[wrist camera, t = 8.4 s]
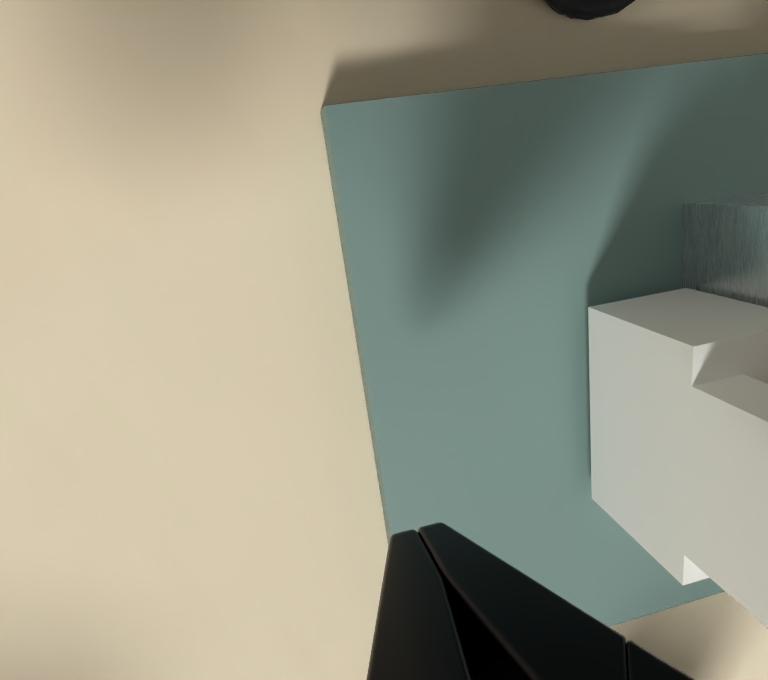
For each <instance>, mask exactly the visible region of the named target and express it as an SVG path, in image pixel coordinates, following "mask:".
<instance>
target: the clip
mask: <svg viewBox="0 0 768 680" xmlns="http://www.w3.org/2000/svg"><path fill="white" fill-rule="evenodd" d="M588 324H589V379H590V435H591V490H592V499H593V500H594V501H595V502H596V503H597V504H598V505H599V506H600V507H601V508H602V509H603V510H604V511H605V512H606V513H607V514H609V515H610V516H611V517H612V518H613V519H614V520H615V521H616V522H617V523H618V524H619V525H620V526H621V527H622V528H623V529H624V530H625V531H626V532H627V533H628V534H629V535H630V536H631V537H633V538H634V539H635V540H636V541H637V542H638V543H639V544H640V545H641V546H642V547H643V548H644V549H645V550H646V551H647V552H648V553H649V554H650V555H651V556H652V557H653V558H654V559H656V560H657V561H658V562H659V563H660V564H661V565H662V566H663V567H664V568H665V569H666V570H667V571H668V572H669V573H670V574H671V575H672V576H673V577H674V578H675V579H676V580H677V581H678V582H680V583H681V584H682V585H686V584H690V583H693V582H697V581H700V580H703V579H707V578H711V579H712V580H713V581H714V582H715V583H716V584H717V585H719V586H720V587H721V588H722V589H723V590H724V591H725V592H727V593H728V594H729V595H730V596H731V597H732V598H733V599H734V600H736V601H737V602H738V603H739V604H740V605H741V606H742V607H744V608H745V609H746V610H747V611H748V612H749V613H750V614H751V615H753V616H754V617H755V618H756V619H757V620H758V621H759V622H761V623H762V624H763V625H764V626H765V627H766V628H767V629H768V307H763V306H759V305H755V304H751V303H747V302H743V301H739V300H735V299H730V298H726V297H722V296H718V295H714V294H710V293H706V292H702V291H698V290H693V289H689V288H683V289H678V290H673V291H668V292H662V293H657V294H652V295H647V296H642V297H637V298H632V299H627V300H622V301H617V302H611V303H606V304H601V305H596V306H591V307H588Z"/></svg>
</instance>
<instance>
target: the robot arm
mask: <svg viewBox="0 0 768 680" xmlns="http://www.w3.org/2000/svg"><path fill="white" fill-rule="evenodd" d="M367 680H695V679H693V678H691V677H690V676H688V675H686V674H685V673H683V672H681V671H680V670H678V669H676V668H675V667H673V666H671V665H670V664H668V663H666V662H665V661H663V660H661V659H660V658H658V657H656V656H655V655H653V654H652V653H650V652H648V651H647V650H645V649H644V648H642V647H640V646H639V645H637V644H636V643H634V642H632V641H627V643H626V639H625V637H624V636H622V635H621V634H619V633H618V632H616V631H615V630H613V629H611V628H610V627H608V626H607V625H605V624H603V623H602V622H600V621H599V620H597V619H595V618H594V617H592V616H591V615H589V614H588V613H586V612H584V611H583V610H581V609H580V608H578V607H576V606H575V605H573V604H572V603H570V602H568V601H567V600H565V599H564V598H562V597H561V596H559V595H557V594H556V593H554V592H553V591H551V590H549V589H548V588H546V587H545V586H543V585H541V584H540V583H538V582H537V581H535V580H533V579H532V578H530V577H529V576H527V575H526V574H524V573H522V572H521V571H519V570H518V569H516V568H514V567H513V566H511V565H510V564H508V563H506V562H505V561H503V560H502V559H500V558H499V557H497V556H495V555H494V554H492V553H491V552H489V551H487V550H486V549H484V548H483V547H481V546H479V545H478V544H476V543H475V542H473V541H472V540H470V539H468V538H467V537H465V536H464V535H462V534H460V533H459V532H457V531H456V530H454V529H452V528H451V527H449V526H448V525H446V524H444V523H441V522H438V523H434V524H430V525H426V526H423V527H420V528H419V529H418V531H416V530H413V529H411V530H407V531H403V532H399V533H395V534H393V535H391V537H390V540H389V546H388V553H387V559H386V565H385V571H384V577H383V583H382V589H381V595H380V601H379V607H378V613H377V620H376V626H375V632H374V638H373V644H372V650H371V656H370V662H369V668H368V674H367Z"/></svg>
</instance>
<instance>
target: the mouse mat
mask: <svg viewBox="0 0 768 680" xmlns="http://www.w3.org/2000/svg"><path fill="white" fill-rule="evenodd" d="M547 1H548V2H549V4H550V5H551V7H552V8H553V9H554V10H555V11H556V12H558V13H559V14H565V15H567V16H568V17H569V18H577V19H584V20H590V19H594V18H598V17H603V16H607V15H611V14H614V13H617V12H619V11H621V10H622V9H624V8H625V7H626V6H628V5H629V4H631V3H632V2H634V1H635V0H547Z"/></svg>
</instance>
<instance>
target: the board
mask: <svg viewBox="0 0 768 680" xmlns="http://www.w3.org/2000/svg"><path fill="white" fill-rule="evenodd" d="M321 118H322V124H323V131H324V137H325V143H326V150H327V156H328V162H329V169H330V175H331V182H332V188H333V194H334V201H335V207H336V213H337V220H338V226H339V232H340V239H341V245H342V252H343V258H344V264H345V271H346V277H347V283H348V290H349V296H350V303H351V309H352V315H353V322H354V328H355V334H356V341H357V347H358V353H359V360H360V366H361V373H362V379H363V385H364V392H365V398H366V404H367V411H368V417H369V424H370V430H371V436H372V443H373V449H374V455H375V462H376V468H377V474H378V481H379V487H380V494H381V500H382V506H383V513H384V519H385V525H386V532H387V538H388V545H389V540H390V537H391V535H393V534H395V533H399V532H403V531H407V530H411V529H413V530H416V531H418V529H419V528H420V527H423V526H426V525H430V524H434V523H438V522H441V523H444V524H446V525H448V526H449V527H451V528H452V529H454V530H456V531H457V532H459V533H460V534H462V535H464V536H465V537H467V538H468V539H470V540H472V541H473V542H475V543H476V544H478V545H479V546H481V547H483V548H484V549H486V550H487V551H489V552H491V553H492V554H494V555H495V556H497V557H499V558H500V559H502V560H503V561H505V562H506V563H508V564H510V565H511V566H513V567H514V568H516V569H518V570H519V571H521V572H522V573H524V574H526V575H527V576H529V577H530V578H532V579H533V580H535V581H537V582H538V583H540V584H541V585H543V586H545V587H546V588H548V589H549V590H551V591H553V592H554V593H556V594H557V595H559V596H561V597H562V598H564V599H565V600H567V601H568V602H570V603H572V604H573V605H575V606H576V607H578V608H580V609H581V610H583V611H584V612H586V613H588V614H589V615H591V616H592V617H594V618H595V619H597V620H599V621H600V622H602V623H603V624H605V625H607V626H608V627H609V626H612V625H616V624H619V623H622V622H625V621H629V620H632V619H635V618H639V617H642V616H645V615H648V614H652V613H655V612H658V611H662V610H665V609H668V608H671V607H675V606H678V605H681V604H685V603H688V602H691V601H694V600H698V599H701V598H704V597H708V596H711V595H714V594H717V593H721V592H724V590H723V589H722V588H721V587H720V586H719V585H717V584H716V583H715V582H714V581H713V580H712V579H711V578H707V579H703V580H700V581H697V582H693V583H690V584H686V585H682V584H681V583H680V582H678V581H677V580H676V579H675V578H674V577H673V576H672V575H671V574H670V573H669V572H668V571H667V570H666V569H665V568H664V567H663V566H662V565H661V564H660V563H659V562H658V561H657V560H656V559H654V558H653V557H652V556H651V555H650V554H649V553H648V552H647V551H646V550H645V549H644V548H643V547H642V546H641V545H640V544H639V543H638V542H637V541H636V540H635V539H634V538H633V537H631V536H630V535H629V534H628V533H627V532H626V531H625V530H624V529H623V528H622V527H621V526H620V525H619V524H618V523H617V522H616V521H615V520H614V519H613V518H612V517H611V516H610V515H609V514H607V513H606V512H605V511H604V510H603V509H602V508H601V507H600V506H599V505H598V504H597V503H596V502H595V501H594V500H593V499H592V490H591V435H590V379H589V324H588V307H591V306H596V305H601V304H606V303H611V302H617V301H622V300H627V299H632V298H637V297H642V296H647V295H652V294H657V293H662V292H668V291H673V290H678V289H681V265H682V237H683V209H684V203H687V202H693V201H699V200H705V199H711V198H717V197H723V196H729V195H735V194H741V193H747V192H753V191H759V190H765V189H768V53H764V54H756V55H747V56H739V57H730V58H722V59H713V60H705V61H697V62H688V63H680V64H671V65H663V66H654V67H646V68H637V69H629V70H621V71H612V72H604V73H595V74H587V75H578V76H570V77H562V78H553V79H545V80H536V81H528V82H519V83H511V84H503V85H494V86H486V87H477V88H469V89H460V90H452V91H444V92H435V93H427V94H418V95H410V96H401V97H393V98H385V99H376V100H368V101H359V102H351V103H342V104H334V105H326V106H324V107H323V109H322V110H321Z"/></svg>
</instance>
